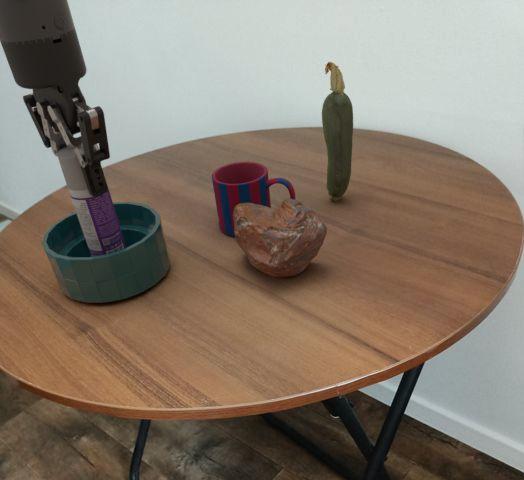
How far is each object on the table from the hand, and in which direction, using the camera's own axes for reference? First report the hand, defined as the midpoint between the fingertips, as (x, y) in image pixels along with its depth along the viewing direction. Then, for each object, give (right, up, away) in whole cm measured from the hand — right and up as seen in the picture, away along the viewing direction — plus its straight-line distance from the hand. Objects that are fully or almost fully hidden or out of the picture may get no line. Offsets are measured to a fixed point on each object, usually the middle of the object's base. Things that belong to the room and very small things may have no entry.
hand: (88, 188), depth 64 cm
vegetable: (+33, +3, +19) cm, 38 cm away
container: (+1, -8, +7) cm, 11 cm away
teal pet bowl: (+1, -9, +8) cm, 12 cm away
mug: (+21, -1, +15) cm, 26 cm away
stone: (+23, -10, +5) cm, 26 cm away
